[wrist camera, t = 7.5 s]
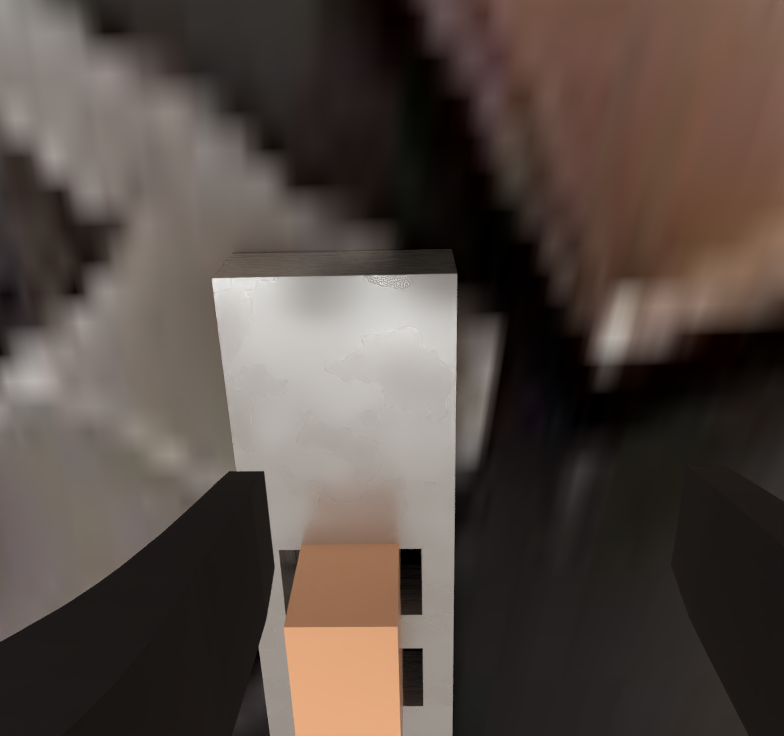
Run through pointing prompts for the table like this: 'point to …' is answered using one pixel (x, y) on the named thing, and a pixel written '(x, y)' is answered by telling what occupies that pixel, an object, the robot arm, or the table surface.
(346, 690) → the orange block
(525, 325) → the table surface
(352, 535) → the rail
